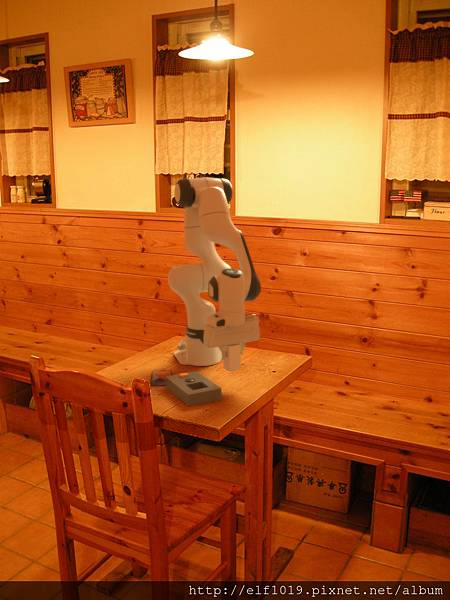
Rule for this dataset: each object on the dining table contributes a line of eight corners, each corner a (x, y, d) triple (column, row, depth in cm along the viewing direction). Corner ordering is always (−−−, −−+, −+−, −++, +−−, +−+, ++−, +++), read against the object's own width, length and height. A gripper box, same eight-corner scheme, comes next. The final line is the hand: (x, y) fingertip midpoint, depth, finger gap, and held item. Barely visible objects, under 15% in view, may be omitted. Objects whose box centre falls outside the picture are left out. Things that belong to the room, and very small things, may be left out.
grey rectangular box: (165, 387, 219) (165, 374, 218) (196, 381, 224) (196, 369, 223) (188, 406, 201) (188, 392, 200) (221, 399, 207) (221, 386, 206)
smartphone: (150, 387, 220) (150, 385, 220) (152, 373, 235) (152, 370, 234) (171, 387, 220) (171, 384, 220) (172, 372, 235) (172, 370, 235)
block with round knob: (223, 367, 216) (223, 339, 214) (234, 365, 218) (234, 337, 216) (229, 371, 213) (229, 343, 210) (240, 369, 214) (240, 341, 212)
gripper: (254, 311, 218) (253, 348, 222) (201, 318, 209) (201, 357, 213) (263, 315, 213) (262, 354, 216) (209, 323, 204) (209, 363, 207)
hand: (232, 355), depth 214 cm, fingers closed on block with round knob, 4 cm apart
